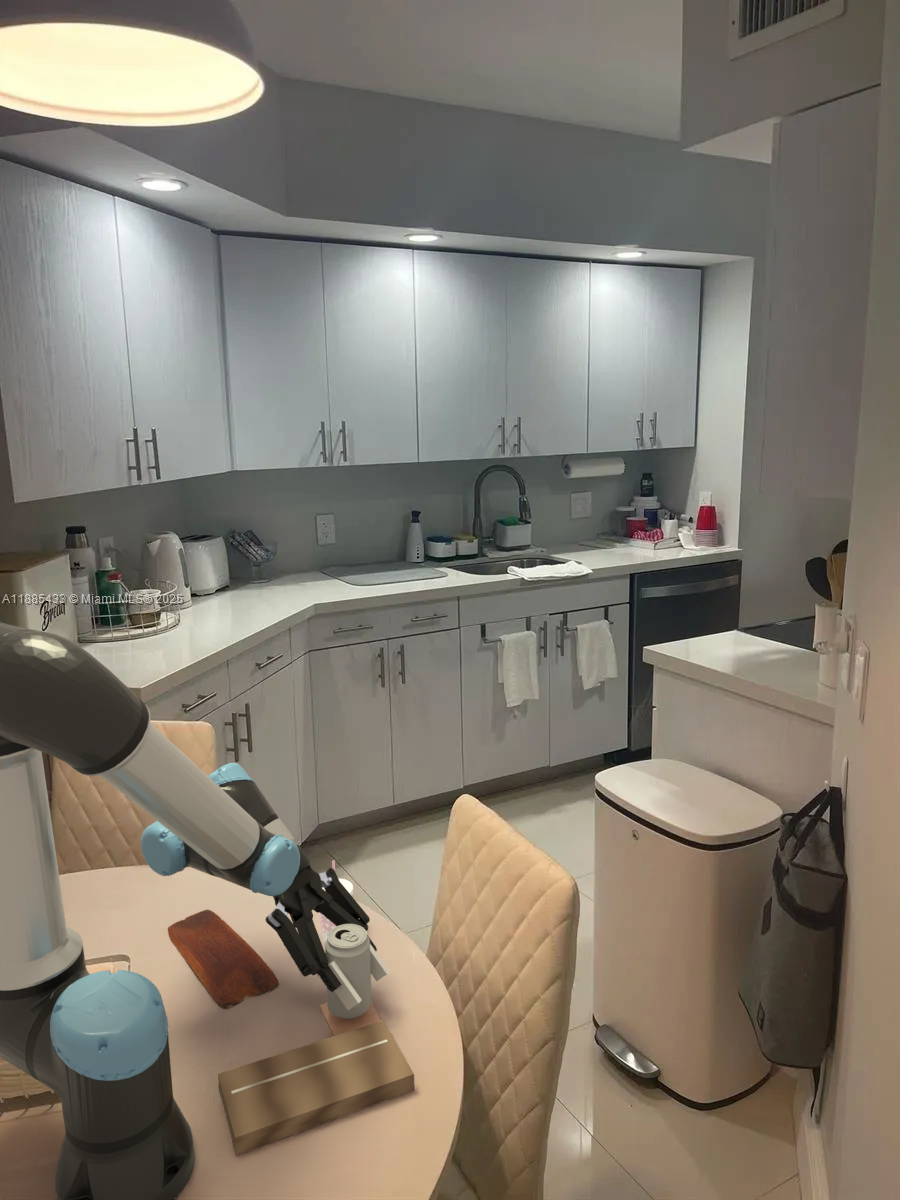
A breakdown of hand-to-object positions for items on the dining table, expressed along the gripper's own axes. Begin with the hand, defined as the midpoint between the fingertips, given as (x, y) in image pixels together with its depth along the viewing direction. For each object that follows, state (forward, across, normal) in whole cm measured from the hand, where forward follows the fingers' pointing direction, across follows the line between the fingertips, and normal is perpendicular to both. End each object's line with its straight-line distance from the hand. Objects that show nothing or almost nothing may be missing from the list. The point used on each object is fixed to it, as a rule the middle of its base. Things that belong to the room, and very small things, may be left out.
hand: (369, 990), depth 124 cm
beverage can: (+1, 0, -6) cm, 6 cm away
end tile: (+1, 0, -6) cm, 7 cm away
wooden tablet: (-17, -1, -26) cm, 31 cm away
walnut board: (+5, +14, -3) cm, 15 cm away
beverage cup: (-8, -14, -16) cm, 23 cm away
